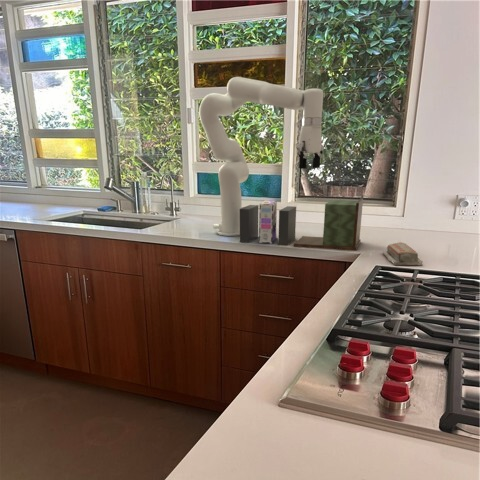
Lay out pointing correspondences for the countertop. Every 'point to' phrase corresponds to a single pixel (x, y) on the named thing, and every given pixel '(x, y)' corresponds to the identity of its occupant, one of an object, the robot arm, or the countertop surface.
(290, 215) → the grey rectangular blocks
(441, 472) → the countertop surface
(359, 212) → the green zigzag bookend
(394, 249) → the butter dish
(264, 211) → the candy box
